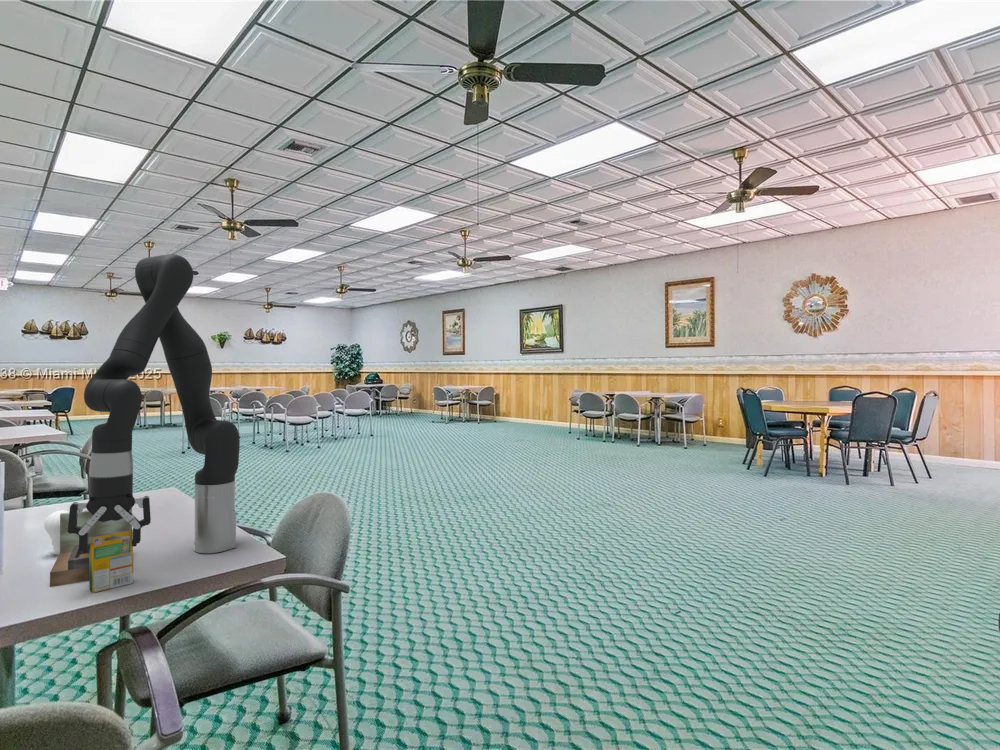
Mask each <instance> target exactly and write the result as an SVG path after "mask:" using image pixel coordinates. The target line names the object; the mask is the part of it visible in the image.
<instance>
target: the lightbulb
mask: <svg viewBox="0 0 1000 750" xmlns="http://www.w3.org/2000/svg"><path fill="white" fill-rule="evenodd" d="M69 512H70V510H63V509H61V510H56V511H53V512H51V513H50V514H49V515H48V516H47V517H46V519H45V520H44V524H43V525H44V526H43V527H44V530H45V531H46V533H47V534H48V535H49V538H50V539H51V544H52V547H53V548H52V549H53V553H54V555H57V556H59V554H60V514H61V513H69Z"/></svg>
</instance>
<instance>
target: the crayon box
mask: <svg viewBox="0 0 1000 750" xmlns="http://www.w3.org/2000/svg"><path fill="white" fill-rule="evenodd" d="M120 535H121V536H122V537H121V538H117V539H112V540H107V541H105V540H104V539H105V538H109V537H111V536H120ZM133 549H134V547H133V529H132V530H129V531H124V532H119V533H114V534H108V535H103V536H98V537H93V543H91V544H89V581H88V583H89V585H88V586H89V587H88V588H89V591H90V592H91V593H93V594H95V592H96V593H98V592H102V591H106V590H111V589H114V588H118V587H122V586H123V587H124V586H126V585H132V584H133V583H134V550H133ZM131 583H132V584H131Z"/></svg>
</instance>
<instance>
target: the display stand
mask: <svg viewBox="0 0 1000 750" xmlns="http://www.w3.org/2000/svg"><path fill="white" fill-rule="evenodd" d="M130 511H131V512H132V513H133V507H132V508H131V509H130ZM91 516H92V514H91V513H90V512H89V511H88V510H83V511H82V512H81V513H80V514H78V518H77V526H79V527H82V526H83V525H84V524H85V523H86V522H87V521H88V519H89V518H90V517H91ZM68 522H69V513H61V514H60V554H59V555H57V558H56V559H55V562H54V564H53V566H52V567H51V570H50V572H49V588H50V587H51V586H52V587H58V586H62V585H70V584H76V583H83V582H87V581H88V582H89V544H91V543H93V537H98V536H103V535H108V534H114V533H119V532H124V531H129V530H133V526H132V525H131V524H130V523H128V522H127V521H126V520H125V519H124V518H122V519H120V520H117V521H113V520H110V521H106V522H102V521H98V520H97V521H96V522H95V524H94V525H93V526H92V527H91V528H90V529H89V530H88V531H87V533H88V552H87V553H83V550H81V551H80V549H79V535H78V534H74V533H72V534H70V533H68ZM121 537H122V536H121V535H120V536H111V537H109V538H105V539H104V540H105V541H107V540H112V539H117V538H121ZM52 587H51V588H52Z"/></svg>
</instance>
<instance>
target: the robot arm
mask: <svg viewBox="0 0 1000 750" xmlns="http://www.w3.org/2000/svg"><path fill="white" fill-rule="evenodd" d="M134 268H135V269H134V275H135V281H136V285H137V286H138V289H139V292H140V294H141V296H142V299H143V300H144V303H145V304H143V306H142V308H140V309H139V311H137V313H136V314H135V315H134V316H133V317H132V318H131V319H130V320H129V321H128V322H127V324H126V325H125V326H124V327H123V329H122V330H121V331H120V333H119V335H118V337H117V339H116V342H115V344H114V346H113V348H112V350H111V353H110V354H109V357H108V358H107V359H106V360H105V361H104V362H103V363H102V365H100V367H99V368H98V369H97V371H96V372H95V373H94V374H93V375H92V376H91V378H90V379H89V380H88V382H87V384H86V385H85V388H84V390H83V391H84V392H83V400H84V403H85V405H86V407H87V408H88V409H90V410H91V411H95V412H99V413H102V412H103V413H109V416H108V418H107V420H106V422H105V423H101V424H97V425H96V426H94V427H93V429H92V432H91V456H90V463H89V471H88V472H89V495H88V496H89V498H88V502H77V501H74V502H72V503H71V504H70V506H69V522H68V533H70V534H72V533H74V534H78V535H79V549H80V551H81V550H83V553H87V552H88V533H87V531H88V530H89V529H90V528H91V527H92V526H93V525H94V524H95V522H96V521H97V520H98V521H102V522H106V521H110V520H113V521H117V520H120V519H122V518H124V519H125V520H126V521H127V522H128V523H130V524H131V525H132V530H133V538H132V539H133V548H134V547H137V545H138V544H140V542H141V539H142V538H141V537H142V535H141V534H142V528H143V527H144V526H148V525H150V524H151V520H152V517H151V516H152V515H151V503H150V500H151V499H150V496H149V495H145V496H143V497H137V498H135V497H134V494H133V493H134V491H133V489H134V488H133V487H134V486H133V485H134V458H133V457H134V456H133V432H134V428H135V426H136V423H137V419H138V416H139V413H140V409H141V407H142V401H143V395H142V391H141V388H140V386H139V385H138V384H137V383H136V382H135V381H133V380H131V379H129V378H130V377H133V376H136V375H141V374H142V373H143V372H144V371H145V370H146V367H147V366H148V363H149V361H150V358H151V355H152V354H153V351H154V349H155V347H156V344H157V342H158V340H159V342H160V344H161V347H162V349H163V353H164V357H165V361H166V363H167V366H168V370H169V373H170V376H171V378H172V381H173V385H174V388H175V391H176V394H177V397H178V400H179V402H180V406H181V409H182V416H183V421H184V425H185V430H186V435H187V440H188V442H189V445H190V446H191V448H192V450H193V451H194V452H196V453H198V454H200V455H204V463H203V467H202V468H201V469H200V470H198V471H196V472H195V474H194V541H193V543H194V552H196V553H199V554H214V553H221V552H225V551H229V550H231V549H236V548H237V544H236V543H237V511H236V508H235V507H236V506H235V505H236V502H235V501H236V498H235V497H236V495H235V494H236V493H235V492H236V473H237V471H238V468H239V463H240V461H239V460H240V458H239V457H240V445H241V444H240V441H241V440H240V432H239V430H238V428H237V426H236V425H235V423H232V422H231V421H227V420H219V419H217V418H216V416H215V412H214V410H213V407H212V403H211V398H210V391H211V386H212V385H211V383H212V377H213V368H212V367H213V366H212V361H211V359H210V356H209V352H208V349H207V346H206V344H205V342H204V340H203V339H202V338H201V336H200V335H199V333H198V332H197V331H196V329H194V328H193V327H192V326H191V325H190V324H189V323H188V321H187V320H186V319H185V318H184V316H183V315H182V313H181V312H180V309H179V307H178V306H179V305H180V303H181V301H182V300H183V299H184V297H185V296H186V294H187V293H188V291H189V290H190V287H191V286H192V284H193V281H194V270H193V267H192V265H191V264H190V262H189V261H188V259H186V258H185V257H183V256H182V255H180V254H173V253H171V254H163V255H162V254H161V255H156V256H155V255H154V256H150V257H145V258H142V259H140V260H139V261H138V262H137V263H136V265H135V267H134ZM135 505H138V507H139V508H140V509H142V511H143V515H142V516H143V519H141V520H139V519H138V518H137V517H136V516H135V514H134V513H133V511H132V512H131V511H130V509H131V508H132V509H133V507H134V506H135ZM84 509H86V511H89V512H90V513H91V514H92V516H91V517H90V518H89V519H88V521H87V522H86V523H85V524H84V525H83V526H82V527H79V526H77V518H78V514H80V513H81V512H82V511H84Z"/></svg>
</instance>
